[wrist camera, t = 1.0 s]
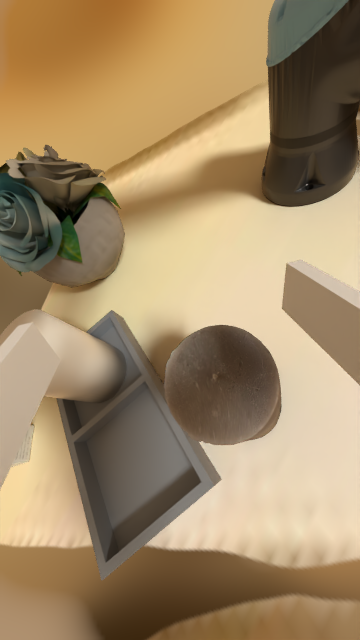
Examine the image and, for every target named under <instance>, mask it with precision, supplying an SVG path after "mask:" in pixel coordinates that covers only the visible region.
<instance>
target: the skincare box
mask: <svg viewBox="0 0 360 640" xmlns="http://www.w3.org/2000/svg"><path fill="white" fill-rule="evenodd" d="M33 431H34V425H30V427H29V429H28V431H27V433H26V435H25V437H24V440H23V442H22V444H21V446H20V448H19V450H18V453H17V455H16V457H15V459H14V461H13V463H12V465H11V467H13V466H16V465H20V464H23V463H26V462H29V460H30V451H31V444H32V437H33Z"/></svg>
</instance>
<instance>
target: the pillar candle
mask: <svg viewBox="0 0 360 640" xmlns="http://www.w3.org/2000/svg"><path fill="white" fill-rule="evenodd" d="M163 385H164V386H163V388H164V389H165V399H166V401H167V404H168V407H169V409H170V413H171V414H172V416H173V417H174V419H175V420H176V422H177V423H178V425H179V426H180V427H181V428H182V429H183V430H184V431H186V432H187V433H188V436H190V437H191V439H193V440H195V441H198V442H201V441H203V442H205V443H210V444H214V445H234V444H237V443H240V442H244V441H248V440H253V439H257V438H261V437H263V436H265V435H266V434H268V433H269V432H270V431H271V430H272V429H273V428H274V427H275V425H276V423H277V421H278V419H279V416H280V413H281V387H280V380H279V374H278V370H277V367H276V364H275V362H274V359H273V357H272V356H271V354H270V352H269V350H268V349H267V348H266V347H265V346H264V345H263V344H262V342H261V341H260V340H258V339H257V338H256V337H254V336H253V335H252V334H250V333H249V332H247V331H245V330H243V329H240V328H237V327H234V326H228V325H215V326H209V327H205V328H203V329H200V330H198V331H196V332H194V333H193V334H191V335H189V336H188V337H186V338H185V339H184V340H183V341H182V342H181V343H180V344H179V345H178V347H177V348H176V349H175V350H174V351H172V353H171V355H170V358H169V359H168V361H167V364H166V370H165V380H164V384H163Z"/></svg>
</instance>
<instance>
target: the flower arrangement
mask: <svg viewBox="0 0 360 640" xmlns="http://www.w3.org/2000/svg"><path fill="white" fill-rule="evenodd" d="M44 150H47V151H45V153H44V156H43V157H42V156H37V155H35V154H34V153H33V152H32V151H30V150H29V149H27V148H23V151H24V153H25V154H26V156H27V158H28V159H29V160H27V159H26V158H25V157H24V155H23V154H22V153H21V152H19V153H18V155H17V157H16V158H15V159H9V160H7V161H6V162H7V163H5V164H4V165H3V166H1V167H0V256H1V258H2V259H3V260H4V261H5V262H6V263H7V264H8V265H9V266H10V267H11V268H13V269H15V270H17V271H18V272H19V274H20V275H21V272H29V271H33V272H34V273H36V274H37V275H39V276H41V277H42V278H44V279H46V280H47V281H50V282H54V283H57V284H61V285H65V286H69V287H76V286H80V285H84V284H88V283H91V282H94V281H95V280H99V279H103V278H105V277H107V276H109V275H110V274H111V273H112V272H113V271H114V270H115V268H116V266H117V264H118V260H119V255H120V254H121V250H122V246H123V241H124V237H125V232H124V229H123V226H122V223H121V220H120V217H119V214H118V211H117V210H116V208H115V207H114V206H113V204H112V203H111V202H113V203H114V204H115V205H116V206H118V207H119V205H118V203H117V202H116V200H115V199H114V197H113V196H112V194H111V192H110V191H109V189H108V188H107V187H106V186H105V185H104V184H103V183H100V182H102V181H104V180H106V178H104V177H103V176H100V177H98V175H99V174H100V173H101V172H103V173H104V174H105V172H104V171H102V170H98V169H93V170H92V169H91V168H90V166H89V165H88V164H83V163H77V162H71V161H66V160H67V159H65V160H64V159H60V158H58V153H57V152H56V151H55V150H54V149H52V147H50V146H49V145H45V148H44ZM119 208H120V207H119ZM120 209H121V208H120Z"/></svg>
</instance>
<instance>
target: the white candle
mask: <svg viewBox="0 0 360 640" xmlns="http://www.w3.org/2000/svg"><path fill="white" fill-rule="evenodd" d="M32 322H33V323H34V324H35V326H36V327H37V329H38V330H39V331H40V333H41V334H42V335H43V337H44V338H45V340H46V341H47V342H48V344H49V345H50V346H51V348H52V349H53V351H54V352H55V353H56V355H57V356H58V357H59V359H60V362H59V364H58V367H57V369H56V371H55V373H54V375H53V377H52V379H51V382H50V384H49V386H48V388H47V390H46V392H45V394H44V396H46V397H53V398H61V399H68V400H76V401H83V402H90V403H102V402H105V401H107V400H109V399H110V398H112V397H113V396H114V395H115V394H116V393H117V392H118V390H119V389H120V388H121V386H122V384H123V382H124V379H125V376H126V370H127V364H126V359H125V356H124V354H123V353H122V351H121V350H120V349H118V348H116V347H114V346H112V345H110V344H108V343H106V342H104V341H102V340H100V339H98V338H96V337H94V336H92V335H90V334H88V333H86V332H84V331H82V330H80V329H78V328H76V327H74V326H72V325H70V324H68V323H66V322H64V321H62V320H60V319H58V318H56V317H54V316H52V315H50V314H48V313H46V312H44V311H42V310H36V309H35V310H30V311H28V312H25V313H24V314H21V315H20V316H19V317H17V318H16V319H15V320H14V321H13V322H11V324H9V326H8V327H7V328H6V329H5V330H4V331H3V333H2V334H1V336H0V346H1V345H2V344H3V343H4V342H5V340H6V339H7V338H8V337H9V336H10V335H11V333H12V332H13V331H14V330H15V329H16V327H17V326H19V325H23V324H27V323H32Z"/></svg>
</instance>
